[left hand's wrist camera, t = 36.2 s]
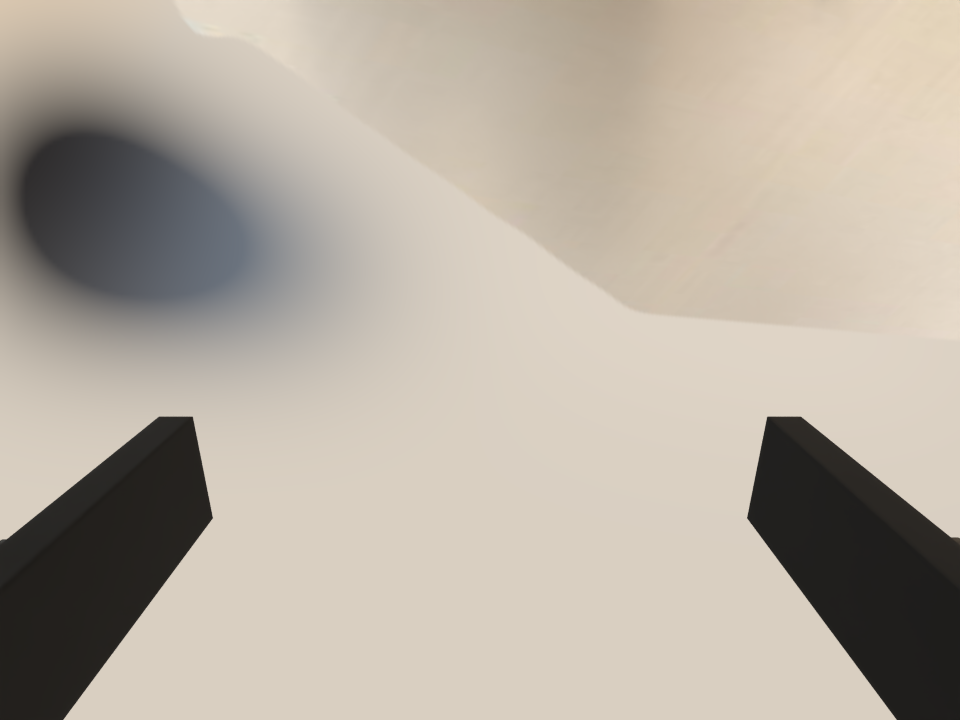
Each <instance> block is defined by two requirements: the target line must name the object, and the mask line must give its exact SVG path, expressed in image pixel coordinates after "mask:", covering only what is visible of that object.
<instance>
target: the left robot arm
mask: <svg viewBox="0 0 960 720" xmlns="http://www.w3.org/2000/svg"><path fill="white" fill-rule="evenodd" d="M212 519H213V517H212V512H211V507H210V502H209V496H208V492H207V487H206V481H205V476H204V471H203V466H202V461H201V456H200V451H199V446H198V441H197V436H196V431H195V426H194V421H193V417H158V418H157V419H156V420H154V421H153V422H152V423H151V424H150V425H148V426H147V427H146V428H145V429H143V430H142V431H141V432H140V433H138V434H137V435H136V436H135V437H133V438H132V439H131V440H130V441H128V442H127V443H126V444H125V445H124V446H122V447H121V448H120V449H118V450H117V451H116V452H115V453H114V454H112V455H111V456H110V457H109V458H107V459H106V460H105V461H104V462H102V463H101V464H100V465H99V466H97V467H96V468H95V469H94V470H92V471H91V472H90V473H89V474H87V475H86V476H85V477H84V478H82V479H81V480H80V481H79V482H77V483H76V484H75V485H74V486H73V487H71V488H70V489H69V490H68V491H66V492H65V493H64V494H63V495H61V496H60V497H59V498H58V499H56V500H55V501H54V502H53V503H51V504H50V505H49V506H48V507H46V508H45V509H44V510H43V511H42V512H40V513H39V514H38V515H37V516H35V517H34V518H33V519H32V520H30V521H29V522H28V523H27V524H25V525H24V526H23V527H22V528H20V529H19V530H18V531H17V532H15V533H14V534H13V535H12V536H10V537H9V538H8V539H7V540H1V541H0V720H63V719H64V718H65V717H66V715H67V714H68V713H69V711H70V710H71V709H72V707H73V706H74V704H75V703H76V702H77V700H78V699H79V698H80V696H81V695H82V694H83V692H84V691H85V690H86V688H87V687H88V686H89V684H90V683H91V682H92V680H93V679H94V677H95V676H96V675H97V673H98V672H99V671H100V669H101V668H102V667H103V665H104V664H105V663H106V661H107V660H108V659H109V657H110V656H111V655H112V653H113V652H114V651H115V649H116V648H117V647H118V645H119V644H120V642H121V641H122V640H123V638H124V637H125V636H126V634H127V633H128V632H129V630H130V629H131V628H132V626H133V625H134V624H135V622H136V621H137V620H138V618H139V617H140V616H141V614H142V613H143V611H144V610H145V609H146V607H147V606H148V605H149V603H150V602H151V601H152V599H153V598H154V597H155V595H156V594H157V593H158V591H159V590H160V589H161V587H162V586H163V584H164V583H165V582H166V581H167V579H168V578H169V576H170V575H171V574H172V572H173V571H174V570H175V568H176V567H177V566H178V564H179V563H180V562H181V560H182V559H183V558H184V556H185V555H186V554H187V552H188V551H189V550H190V548H191V547H192V545H193V544H194V543H195V541H196V540H197V539H198V537H199V536H200V535H201V533H202V532H203V531H204V529H205V528H206V527H207V525H208V524H209V523H210V521H211V520H212ZM747 519H748V520H749V521H750V523H751V524H752V525H753V527H754V528H755V529H756V531H757V532H758V533H759V535H760V536H761V537H762V539H763V540H764V541H765V543H766V544H767V545H768V547H769V548H770V550H771V551H772V552H773V554H774V555H775V556H776V558H777V559H778V560H779V562H780V563H781V564H782V566H783V567H784V568H785V570H786V571H787V572H788V574H789V575H790V576H791V578H792V579H793V581H794V582H795V583H796V585H797V586H798V587H799V588H800V590H801V591H802V593H803V594H804V595H805V597H806V598H807V599H808V601H809V602H810V603H811V605H812V606H813V607H814V609H815V610H816V612H817V613H818V614H819V616H820V617H821V618H822V620H823V621H824V622H825V624H826V625H827V626H828V628H829V629H830V630H831V632H832V633H833V634H834V636H835V637H836V638H837V640H838V641H839V642H840V644H841V645H842V647H843V648H844V649H845V650H846V652H847V653H848V655H849V656H850V657H851V659H852V660H853V661H854V663H855V664H856V665H857V667H858V668H859V669H860V671H861V672H862V673H863V675H864V676H865V678H866V679H867V680H868V682H869V683H870V684H871V686H872V687H873V688H874V690H875V691H876V692H877V694H878V695H879V696H880V698H881V699H882V700H883V702H884V703H885V704H886V706H887V707H888V709H889V710H890V711H891V713H892V714H893V715H894V717H895V718H896V719H897V720H960V538H951V537H950V536H948V535H947V534H946V533H945V532H943V531H942V530H941V529H940V528H938V527H937V526H936V525H935V524H933V523H932V522H931V521H930V520H928V519H927V518H926V517H925V516H923V515H922V514H921V513H920V512H918V511H917V510H916V509H915V508H914V507H912V506H911V505H910V504H909V503H907V502H906V501H905V500H904V499H902V498H901V497H900V496H899V495H897V494H896V493H895V492H894V491H892V490H891V489H890V488H889V487H887V486H886V485H885V484H884V483H882V482H881V481H880V480H879V479H878V478H876V477H875V476H874V475H873V474H871V473H870V472H869V471H868V470H866V469H865V468H864V467H863V466H861V465H860V464H859V463H858V462H856V461H855V460H854V459H853V458H851V457H850V456H849V455H848V454H846V453H845V452H844V451H843V450H842V449H840V448H839V447H838V446H837V445H835V444H834V443H833V442H832V441H830V440H829V439H828V438H827V437H825V436H824V435H823V434H822V433H820V432H819V431H818V430H817V429H815V428H814V427H813V426H812V425H811V424H809V423H808V422H807V421H806V420H804V419H803V418H802V417H767V421H766V426H765V431H764V436H763V441H762V446H761V451H760V456H759V461H758V466H757V471H756V476H755V481H754V486H753V491H752V497H751V502H750V507H749V512H748V517H747Z"/></svg>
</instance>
